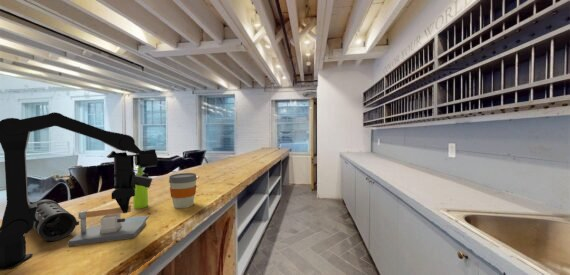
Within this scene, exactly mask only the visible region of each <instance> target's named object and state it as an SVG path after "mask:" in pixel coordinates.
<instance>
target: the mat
mask: <svg viewBox="0 0 570 275" xmlns="http://www.w3.org/2000/svg"><path fill="white" fill-rule="evenodd" d="M148 218H149V215H143V216H132V217H131V216H130V217H126V218H125V222H135V221H144V220H147V219H148ZM125 222H121V223H125Z"/></svg>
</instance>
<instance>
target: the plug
mask: <svg viewBox="0 0 570 275" xmlns="http://www.w3.org/2000/svg"><path fill="white" fill-rule="evenodd" d="M125 219H126V218H124V217H123V218H121V213H118V214H111V215H103V216H101V218H100V225H101V229H100V232H101V233H109V232H116V231H118V230H119V229H120V228H121V225H122V222H125Z"/></svg>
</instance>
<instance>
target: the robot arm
mask: <svg viewBox="0 0 570 275" xmlns="http://www.w3.org/2000/svg"><path fill="white" fill-rule="evenodd" d="M52 127H57V128H61V129H64V130H66V131H70V132H73V133H76V134H78V135H82V136H85V137H88V138H91V139H94V140H97V141H100V142H102V143H104V144H106V145H107V146H109V147H111V148H113V149H116V150H118V151H122V152H116V151H114V150H112V151H111V152H110V153H109V154H108V155H106V159H107V158H108V159H113V165H114V166H113V168H114V171H113V172H114V173H113V179H114V184H113V188H114V189H113V191H112V192H111V200H115V201H116V203H117V205H118V207H120V208H121V210H122V211H123V213H122V214H127V213H129V212H128V207H129V206H130V202H131V201H130V200H131V198H132V197H133V196H135V188H136V187H135V185H139V186H145V187H147V188H151V184H152V181H153V178H152V177H149V174H148V173H145V172H144V174H143V175H141V176H140V175H136V172H135V166H136V167H137V166H138V167H139V168H142V169H143V168H152V167H157V166H158V162H159V158H158V154H157V152H156V149H155V148H150V149H142V150H141V149H140V147H138V145H137V144H136V141H135V138H134V137H132V136H131V135H129V134H124V133H119V132H115V131H114V132H113V131H108V130H105V129H102V128H99V127H98V126H97V127H96V126H94V125H91V124H88V123H85V122H84V121H79V120H77V119H73V118H71V117H69V116H66V115H64V114H63V113H59V112H49V113H48V114H47V113H46V114H42V115H37V116H32V117H27V118H22V119H21V118H16V117H15V118H14V117H8V118H4V119H1V120H0V146H1V149H2V151H3V153H4V154H3V155H4V173H5V174H4V175H5V177H4V178H5V191H6V192H5V194H6V205H5V209H4V213H3V216H2V220H1V224H0V270H6V269H12V268H15V267H17V266H19V265H20V264H22V263H23V262H25V261H26V260H28V259H29V258H31V257H33V253H27V244H26V243H27V242H26V234H27V233H29V232H30V231H31V230H32V229H34V228H33V225H34V221H35V222H37V220H38V214H37V212H36V208H37V203H35V202H33V203H34V204H33V203H31V202H30V199H29V194H28V193H29V192H28V174H27V172H28V170H27V155H26V151H27V148H28V144H29V139H30V135H31V133H32V132H37V131H41V130H45V129H47V128H48V129H49V128H52ZM127 152H128V153H131V154H127Z"/></svg>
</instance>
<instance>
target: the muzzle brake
mask: <svg viewBox="0 0 570 275" xmlns="http://www.w3.org/2000/svg"><path fill="white" fill-rule="evenodd" d="M34 203H37V208H36V212H37V214H38V220H37V222H35V221H34V225H33V228H32V229H34V231H36V233H37V234H38V235H39V237H40V238H42V240H45V241H50V242H55V241H60V240H62V239H64V238H67V237H68V236H70V234H72V233H73V232H74V230H75V229H76V227H77V226H79V225H80V221H79V220H78V219H77V218H76V217H75V215H73V214H72V213H70V212H69V211H68V210H66V209H65V208H63V207H62V206H61V205H60V204H59V203H58V202H57V201H54V200H52V199H41V200H37V201H35V202H33V203H32V204H34Z"/></svg>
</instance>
